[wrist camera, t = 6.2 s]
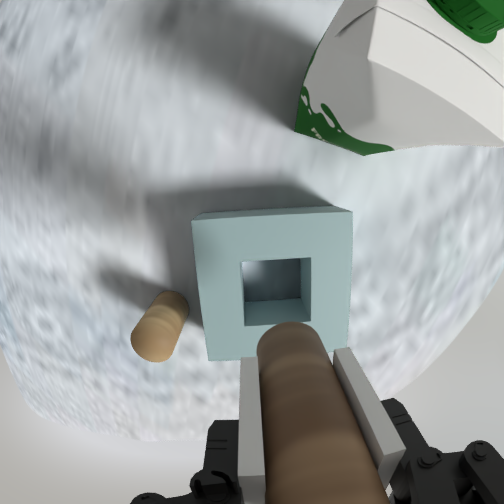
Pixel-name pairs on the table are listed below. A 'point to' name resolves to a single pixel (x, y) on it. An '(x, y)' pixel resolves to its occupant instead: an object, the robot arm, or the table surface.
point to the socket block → (271, 248)
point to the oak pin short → (160, 327)
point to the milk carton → (407, 76)
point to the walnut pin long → (310, 425)
